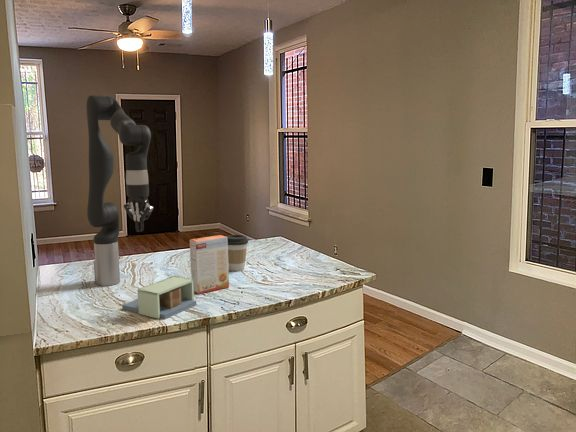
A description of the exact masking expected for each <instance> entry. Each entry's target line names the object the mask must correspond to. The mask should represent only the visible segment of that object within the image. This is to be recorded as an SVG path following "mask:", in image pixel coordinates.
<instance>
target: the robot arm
mask: <svg viewBox="0 0 576 432" xmlns="http://www.w3.org/2000/svg"><path fill="white" fill-rule="evenodd" d="M85 103H86V106H85V108H86V120H87V131H88V176H89V177H88V179H89V180H88V198H87V199H88V200H87V209H86V214H87V215H86V216H87V220H88V223H89V224H90V226H92V227H93V228H101V229H100V230H99V231H98V232H97V233H96V234H94V236H93V247H94V248H93V249H94V251H93V252H94V260H93V274H94V283H95V284H97V286H103V287H108V286H113V285H118V284H119V283H120V282H121V276H120V275H121V273H120V257H119V255H120V254H119V253H120V252H119V234H120V212H119V208H118V207H117V205H116V204H115V203H113V202H110V201H107V202H104V199H105V197H104V196H105V191H106V189H107V186H108V185H109V183H110V181H111V179H112V176H113V174H114V167H115V165H114V164H115V163H114V160H115V159H114V152H113V151H112V149H111V147H110V145H109V144H108V143H107V141H106V139H105V137H103V134H102V133H101V130H100V129H101V128H100V125H99V121H110V127H111V128H112V129H113V130H114V132H116V133H117V134H118V138H119V141H120V143H121V144H122V145H124V146H128V147H129V146H138V147H137V150H135V151H133V152H128V153H127V154H126V155H125V168H126V171H125V186H126V196H127V197H128V199H127V203H125V204H123V208H124V210H125V212H126V213H127V215H128V217H129V219H130V220H133V221H134V225H135V226H134V227H135V231H136V232H138V233H141V232H144V230H145V222H144V221H146V220H148V219H149V217H150V216H151V215H152V212H153V211H154V210H155V207H154V206H153V205H150V201H149V199H148V197H149V196H150V187H149V186H150V185H149V173H148V153H149V149H150V144H151V140H152V139H151V138H152V132H151V130H150V128H149V126H147V125H145V124H136V122H135V121H134V120H133V119H132V118H130V116H129V115H127V114H126V113H125V111H124V110H123V107H122V106H121V105H120V103H119V102H118V100H117V99H116V98H115V97H113V96H107V95H96V94H95V95H94V94H91V95H88V97H87V99H86V102H85Z"/></svg>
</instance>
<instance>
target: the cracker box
mask: <svg viewBox="0 0 576 432" xmlns="http://www.w3.org/2000/svg"><path fill="white" fill-rule="evenodd" d="M189 253H190V254H189V257H190V258H189V259H190V274H191V275H190V276H191V277H190V279H193V286H194V293H196V294H197V295H200V294H205V293H209V292H214V291H218V290H223V289H227V288H230V276H229V275H230V274H229V273H230V272H229V271H230V270H229V268H228V239H227V237H226V236H224V235H222V234H217V235H212V236H205V237H198V238H191V239H189Z"/></svg>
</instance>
